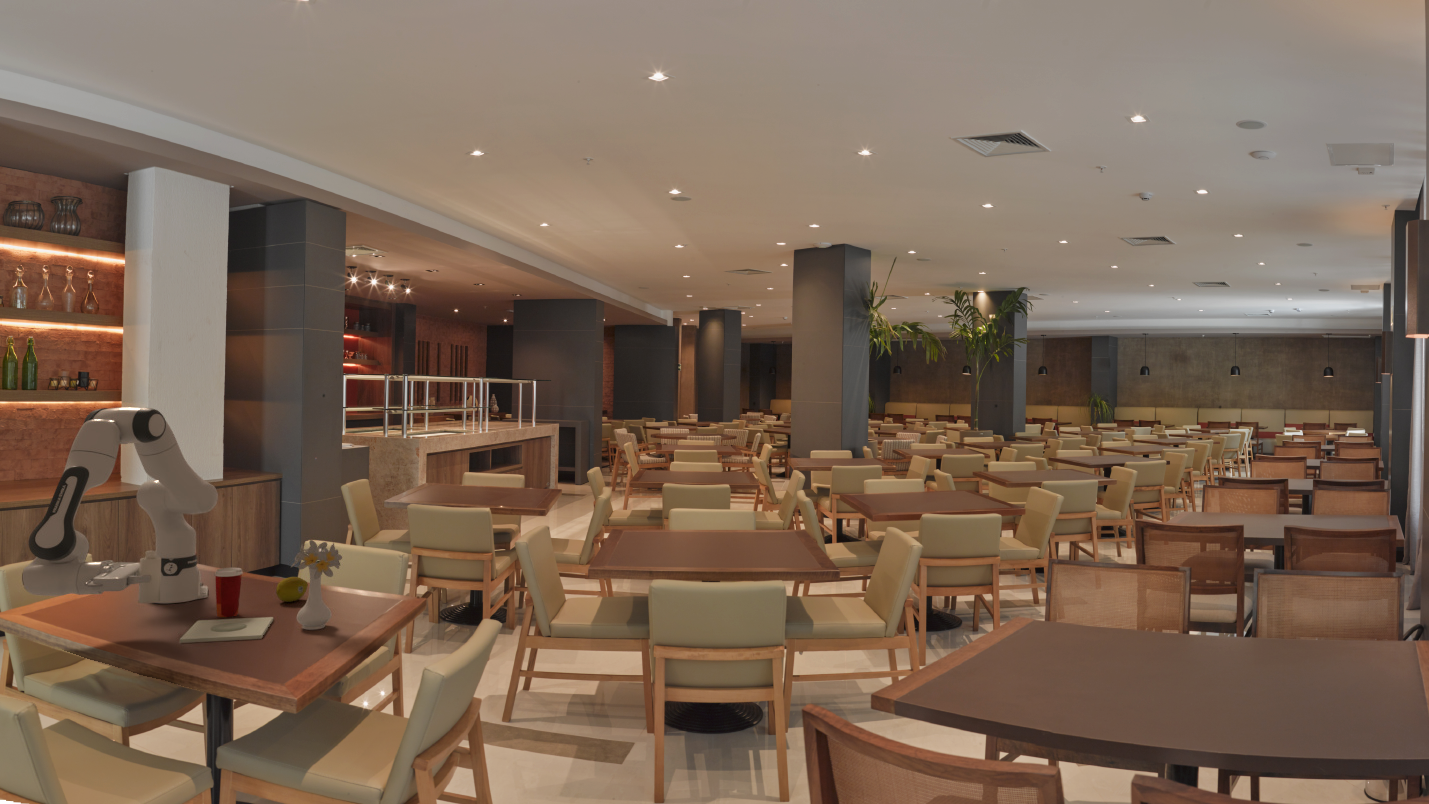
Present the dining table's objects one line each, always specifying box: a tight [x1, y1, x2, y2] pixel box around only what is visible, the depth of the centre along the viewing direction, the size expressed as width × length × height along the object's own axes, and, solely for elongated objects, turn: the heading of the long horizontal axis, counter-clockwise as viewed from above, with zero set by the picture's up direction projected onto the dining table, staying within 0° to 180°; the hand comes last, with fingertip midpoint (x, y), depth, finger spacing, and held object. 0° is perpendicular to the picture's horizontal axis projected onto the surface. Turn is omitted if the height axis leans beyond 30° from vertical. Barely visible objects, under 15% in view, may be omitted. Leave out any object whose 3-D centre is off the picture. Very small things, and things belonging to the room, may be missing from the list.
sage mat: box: [179, 616, 274, 644], centre depth 245 cm, size 20×20×1 cm
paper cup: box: [214, 567, 244, 618], centre depth 262 cm, size 8×8×14 cm
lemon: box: [275, 576, 309, 603], centre depth 281 cm, size 11×8×8 cm
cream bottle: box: [138, 550, 161, 604], centre depth 239 cm, size 5×5×14 cm
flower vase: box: [290, 539, 343, 631], centre depth 252 cm, size 13×18×25 cm
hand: (153, 576), depth 239 cm, fingers closed on cream bottle, 5 cm apart
